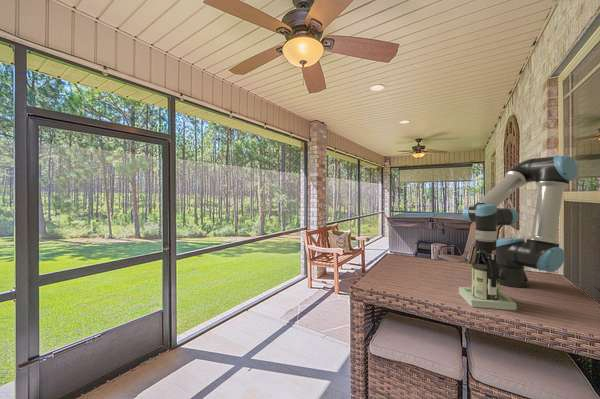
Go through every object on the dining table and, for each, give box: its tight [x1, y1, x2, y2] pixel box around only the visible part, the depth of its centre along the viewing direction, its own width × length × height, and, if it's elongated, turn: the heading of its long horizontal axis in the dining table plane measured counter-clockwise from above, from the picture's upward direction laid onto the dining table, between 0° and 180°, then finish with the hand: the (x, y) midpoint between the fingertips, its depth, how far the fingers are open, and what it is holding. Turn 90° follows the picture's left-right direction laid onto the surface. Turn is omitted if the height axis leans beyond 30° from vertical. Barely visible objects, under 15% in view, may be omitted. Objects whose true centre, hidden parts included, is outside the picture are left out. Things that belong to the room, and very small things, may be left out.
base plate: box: [458, 286, 517, 311], centre depth 119 cm, size 16×16×3 cm
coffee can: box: [471, 262, 501, 301], centre depth 119 cm, size 10×10×14 cm
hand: (485, 288), depth 119 cm, fingers open, 13 cm apart
